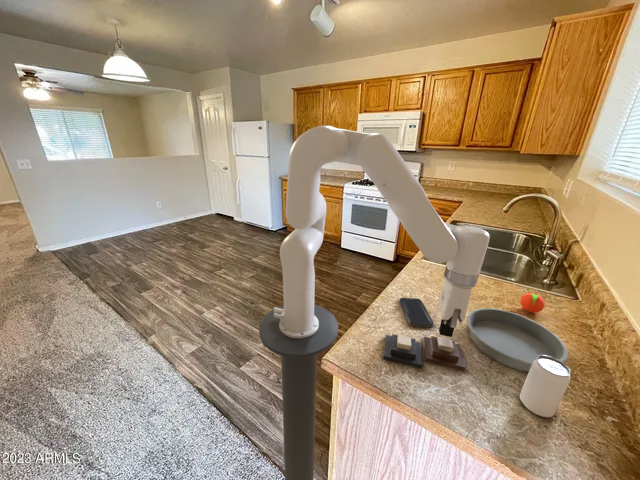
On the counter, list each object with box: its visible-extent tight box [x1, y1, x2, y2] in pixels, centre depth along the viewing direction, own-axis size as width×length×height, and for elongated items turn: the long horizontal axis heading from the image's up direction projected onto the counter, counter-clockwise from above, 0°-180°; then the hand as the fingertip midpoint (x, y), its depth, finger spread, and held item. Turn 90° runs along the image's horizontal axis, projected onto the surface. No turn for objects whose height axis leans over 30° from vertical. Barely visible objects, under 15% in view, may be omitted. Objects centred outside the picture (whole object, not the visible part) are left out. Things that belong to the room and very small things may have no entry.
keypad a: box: [382, 333, 423, 369], centre depth 75 cm, size 10×9×3 cm
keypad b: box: [422, 335, 466, 371], centre depth 75 cm, size 10×9×3 cm
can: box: [519, 355, 572, 418], centre depth 59 cm, size 6×6×12 cm
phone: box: [399, 297, 434, 328], centre depth 93 cm, size 8×1×15 cm
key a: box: [397, 334, 412, 351], centre depth 74 cm, size 4×4×2 cm
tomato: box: [519, 292, 546, 314], centre depth 95 cm, size 8×7×7 cm
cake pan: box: [466, 307, 569, 373], centre depth 79 cm, size 25×25×4 cm
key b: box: [437, 335, 453, 352], centre depth 74 cm, size 4×4×2 cm
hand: (445, 334), depth 73 cm, fingers closed
